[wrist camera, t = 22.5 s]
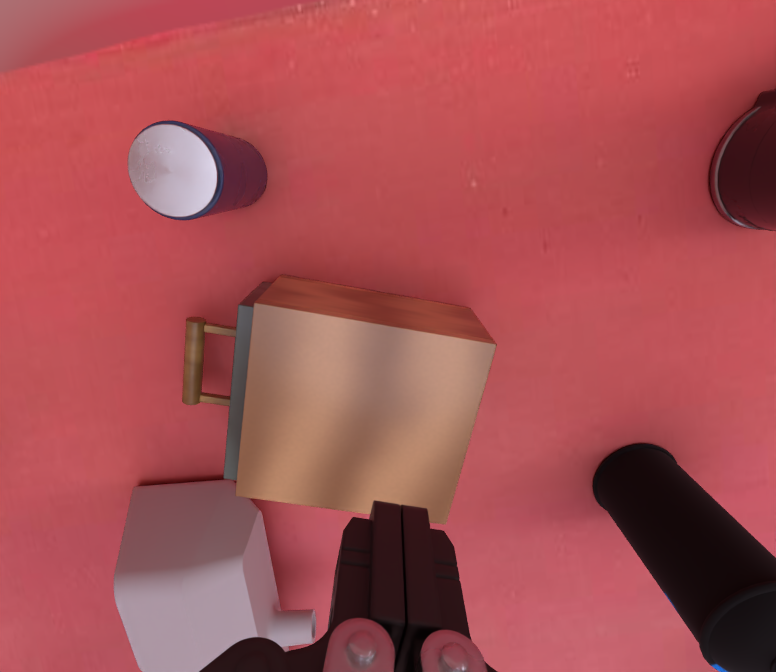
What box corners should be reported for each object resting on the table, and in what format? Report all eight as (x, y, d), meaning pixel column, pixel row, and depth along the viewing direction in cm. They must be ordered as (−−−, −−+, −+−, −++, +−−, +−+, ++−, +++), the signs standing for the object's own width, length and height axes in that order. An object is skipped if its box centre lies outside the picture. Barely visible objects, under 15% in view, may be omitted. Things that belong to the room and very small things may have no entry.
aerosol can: (599, 442, 43) (777, 651, 24) (685, 442, 43) (927, 650, 24) (585, 514, 46) (734, 753, 27) (666, 514, 46) (870, 750, 27)
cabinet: (262, 432, 42) (234, 496, 33) (281, 274, 37) (253, 302, 29) (432, 457, 43) (445, 524, 35) (470, 307, 38) (497, 344, 30)
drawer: (190, 421, 40) (155, 469, 34) (199, 270, 36) (160, 290, 29) (409, 454, 42) (415, 505, 35) (442, 312, 37) (457, 341, 31)
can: (201, 130, 33) (123, 110, 23) (270, 144, 34) (224, 130, 23) (198, 201, 35) (123, 211, 25) (264, 213, 35) (217, 228, 25)
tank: (334, 656, 51) (322, 799, 39) (191, 667, 51) (136, 814, 39) (305, 466, 43) (279, 576, 31) (134, 479, 43) (44, 594, 31)
